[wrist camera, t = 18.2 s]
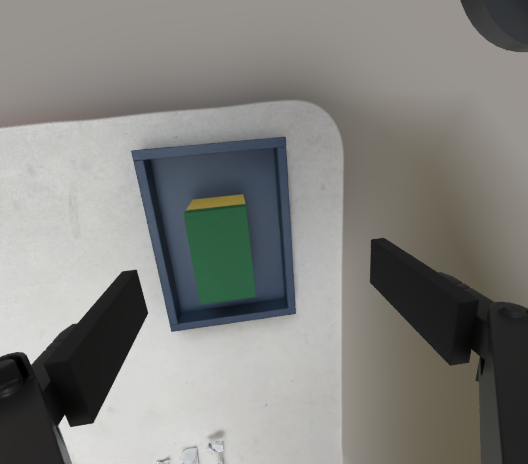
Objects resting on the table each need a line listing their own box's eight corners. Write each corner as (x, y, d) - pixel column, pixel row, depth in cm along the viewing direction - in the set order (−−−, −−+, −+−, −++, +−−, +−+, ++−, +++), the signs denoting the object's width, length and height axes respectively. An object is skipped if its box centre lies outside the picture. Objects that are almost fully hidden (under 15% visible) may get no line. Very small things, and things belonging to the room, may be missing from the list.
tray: (140, 149, 32) (130, 150, 29) (280, 137, 33) (285, 136, 30) (176, 316, 39) (171, 332, 35) (290, 300, 40) (296, 314, 37)
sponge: (192, 199, 33) (183, 213, 27) (243, 194, 34) (246, 206, 27) (205, 275, 36) (200, 305, 30) (251, 269, 37) (256, 297, 30)
